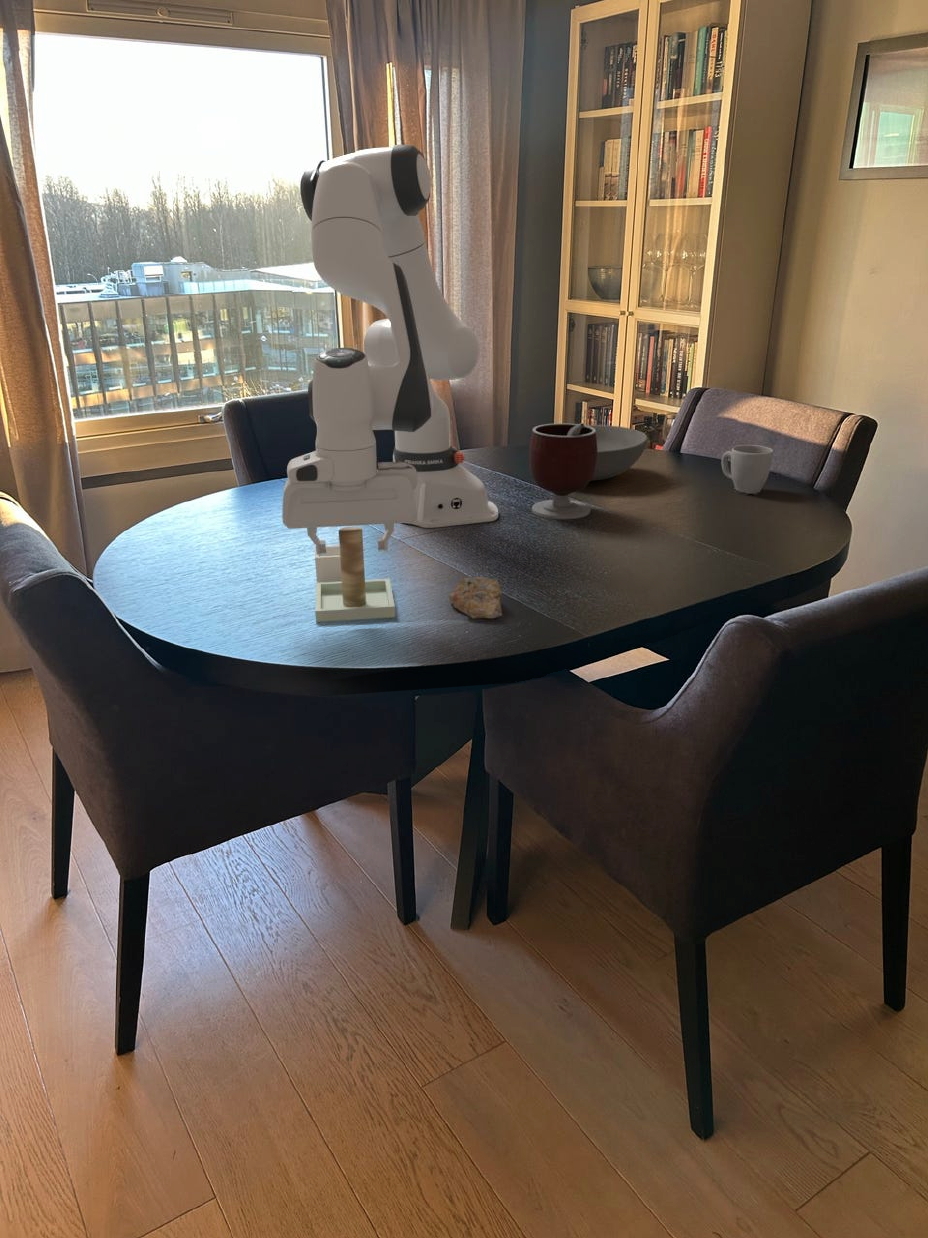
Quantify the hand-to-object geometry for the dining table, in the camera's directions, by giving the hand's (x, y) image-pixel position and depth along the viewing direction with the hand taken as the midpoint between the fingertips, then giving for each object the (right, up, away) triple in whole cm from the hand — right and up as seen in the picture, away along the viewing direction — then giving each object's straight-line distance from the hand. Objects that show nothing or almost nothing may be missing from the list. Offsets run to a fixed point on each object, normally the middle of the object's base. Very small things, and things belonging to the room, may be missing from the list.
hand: (352, 551), depth 141 cm
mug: (+80, +19, +66) cm, 106 cm away
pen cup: (-5, -4, +14) cm, 15 cm away
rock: (+20, -9, +3) cm, 22 cm away
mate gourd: (+38, +12, +51) cm, 65 cm away
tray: (0, -9, +4) cm, 9 cm away
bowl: (+47, +23, +78) cm, 94 cm away
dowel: (0, -8, +3) cm, 9 cm away
